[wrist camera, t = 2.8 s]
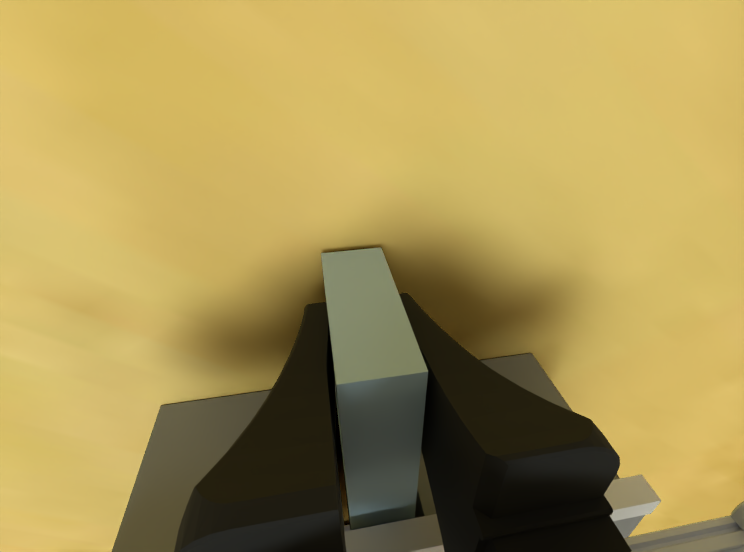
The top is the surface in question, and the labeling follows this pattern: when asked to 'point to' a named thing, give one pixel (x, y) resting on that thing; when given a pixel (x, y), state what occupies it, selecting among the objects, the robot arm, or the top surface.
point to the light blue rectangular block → (375, 387)
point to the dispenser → (365, 545)
